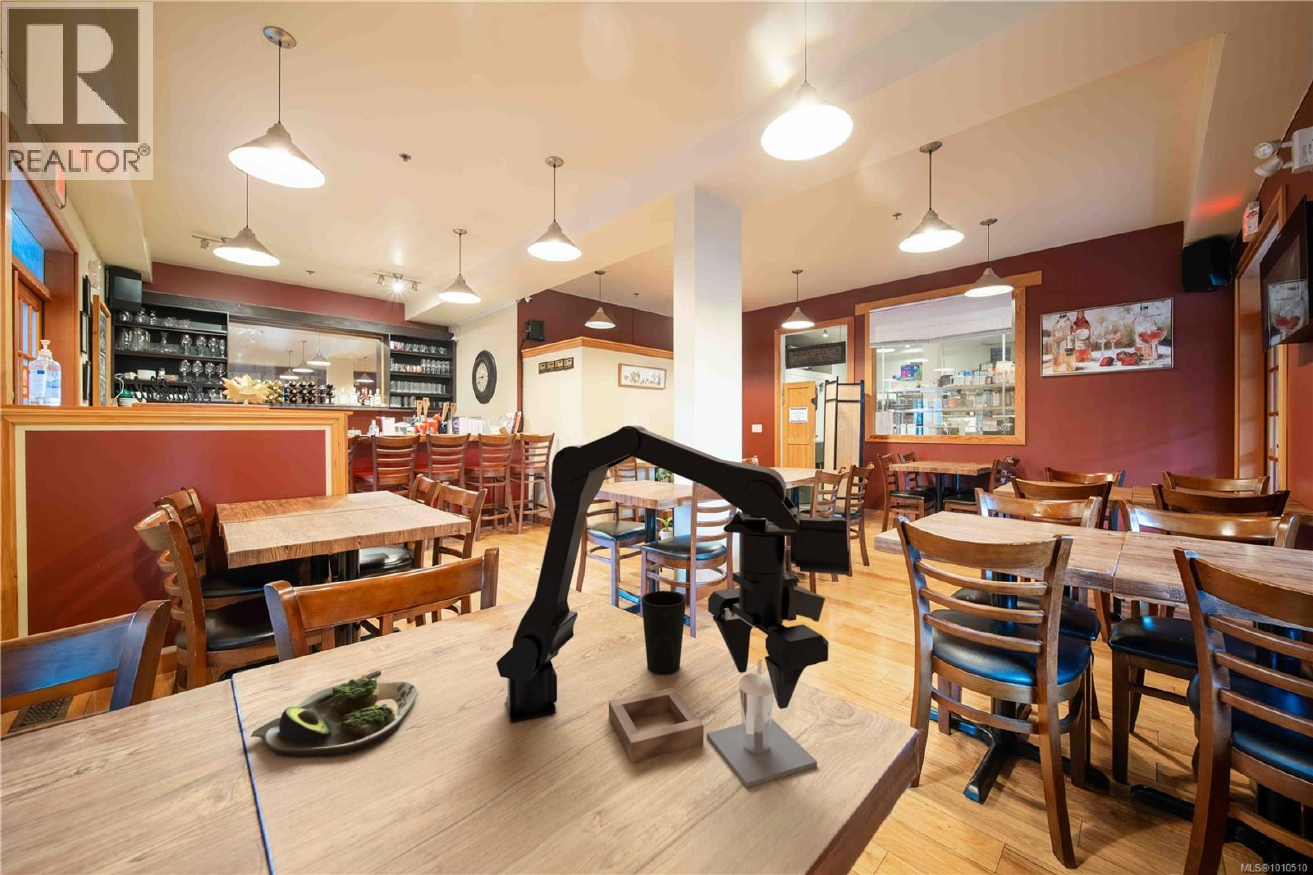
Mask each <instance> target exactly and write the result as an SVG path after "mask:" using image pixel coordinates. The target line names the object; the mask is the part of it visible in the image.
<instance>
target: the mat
mask: <svg viewBox="0 0 1313 875" xmlns="http://www.w3.org/2000/svg"><path fill="white" fill-rule="evenodd" d="M706 738H707V739H708V741H709V742H710V744H712V746H713V747H714V748H715V750H716V751H717V752H718V754H719V755H720V756H721V758H722V759H723V760H724V761H725V762H726V764H727V765H728V766H729V768H731V770H732V772H733V773H735V775H736V776H737V777H738V779H739V780H740V781H741V783H742V784H743V785H744V786H745V788H746V789H748V788H752V787H755V786H758V785H761V784H763V783H767V782H770V781H771V782H772V781H774V780H777V779H780V778H784V777H786V776H790V775H792V774H796V773H799V772H802V771H805V770H809V769H812V768H816V767H818V761H817V760H816V759H815V758H814V757H813V756H812V755H811V753H809V752H808V751H807V750H806V749H805V748H804V747H803V746H802V745H800V744H799V743H798V741H796V740H795V739H794V738H793V737H792V736H791V735H790V734H789V733H788V732H787V731H786V730H785V729H784V728H782V727H781V726H780V725H779V723H777V721H775V720H774V719H773V718H772V717H771V730H770V742H769V749H768V752H766V753H764V754H753V753H751V752H748V751H747V750H746V749H745V747H744V746H743V734H742V723H740V724H737V725H733V726H729V727H725V728H720V729H717V730H714V731H709V732H706Z"/></svg>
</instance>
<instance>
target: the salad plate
mask: <svg viewBox="0 0 1313 875" xmlns="http://www.w3.org/2000/svg"><path fill="white" fill-rule="evenodd" d="M381 676H382V671H381V670H375V671H373V672H370V673H368V674H364V675H361V677H359V678H357V679H354V678H351V679H350V680H349V681H348V682H344V683H341V684H337V685H332V686H329V687H327V688H324V689H320V690H318V691H316V692H314V693H312V694H311V695H309V696H308V697H306V698H305V699H304V700H302V701H301V702H300V703H299V704H298V705H297V706H289V707H287V708H285V709H284V711H283V712H282V713H281V716H280V717H278V718H275V719H272V720H271V721H269V722H267V723H265V724H263V725H262V726H260V727H258V728H256V729H255V730H253V731H252V733H251V735H250V738H252V737H253V738H254V737H255V738H259V739H261V740H262V741H263V742H264V745H265V746H266V747H267V748H268V749H269V750H270V751H271V752H272V753H274V754H275V755H277V756H280V757H284V758H297V759H304V758H305V759H306V758H307V759H308V758H311V759H312V758H334V757H339V756H341V757H342V756H344V755H345V756H346V755H350V754H353V753H357V752H360V751H363V750H366V749H368V748H370V747H373V746H375V745H376V744H378V743H380V742H382V741H383V740H385V739H386V738H387V737H388V736H389V735H390V734H391V733H393V732H394V731H395V730H397V729H398V727H400V725H401V723H402V722H403V720H404V717H405V716H406V714H407V713H408V712H409V710H411V708H412V706H413V705H414V702H415V701H416V698H417V697H418V695H419V689H418V687H417V686H416V685H415V684H413V683H411V682H409V681H392V682H391V681H389V682H377V679H379V678H380V677H381ZM386 700H392V701H393V702H394V703H396V705H397V708H396V710H395V708H394V707H390V706H388V704H387V703H383V704H382V705H378V704H376V703H378V702H380V701H386Z"/></svg>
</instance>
